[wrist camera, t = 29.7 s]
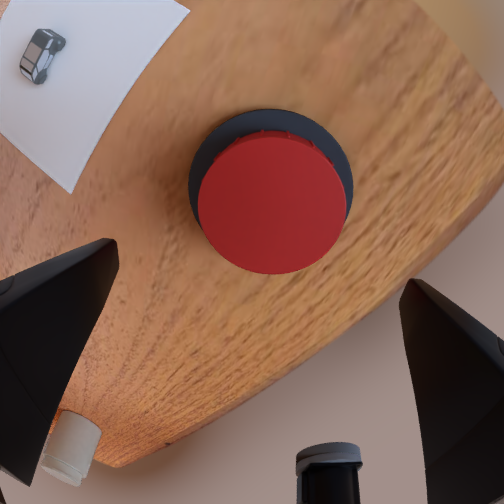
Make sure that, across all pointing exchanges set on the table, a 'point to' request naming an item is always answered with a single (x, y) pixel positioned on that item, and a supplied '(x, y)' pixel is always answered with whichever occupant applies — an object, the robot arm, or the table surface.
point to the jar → (71, 448)
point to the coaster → (267, 122)
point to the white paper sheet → (73, 73)
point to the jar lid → (272, 203)
